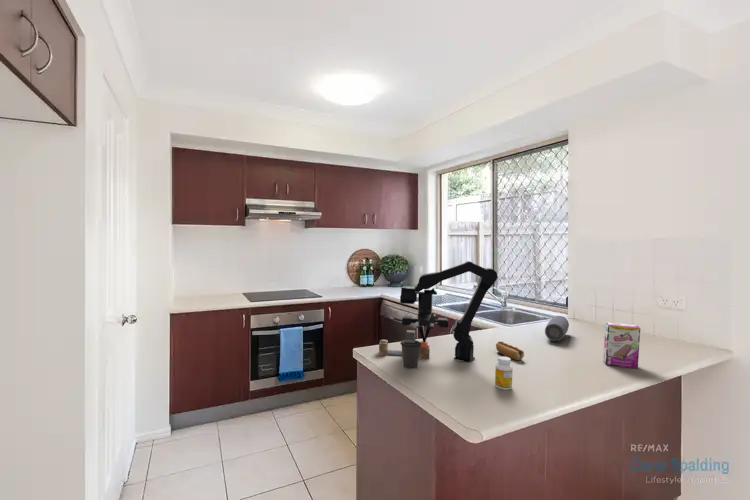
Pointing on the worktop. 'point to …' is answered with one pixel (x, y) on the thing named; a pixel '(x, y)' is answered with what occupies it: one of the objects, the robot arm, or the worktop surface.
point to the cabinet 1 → (383, 347)
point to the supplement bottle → (503, 373)
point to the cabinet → (424, 352)
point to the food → (509, 351)
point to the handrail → (394, 352)
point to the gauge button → (424, 344)
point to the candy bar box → (621, 345)
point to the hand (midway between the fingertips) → (424, 342)
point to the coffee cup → (410, 353)
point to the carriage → (410, 334)
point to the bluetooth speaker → (557, 328)
